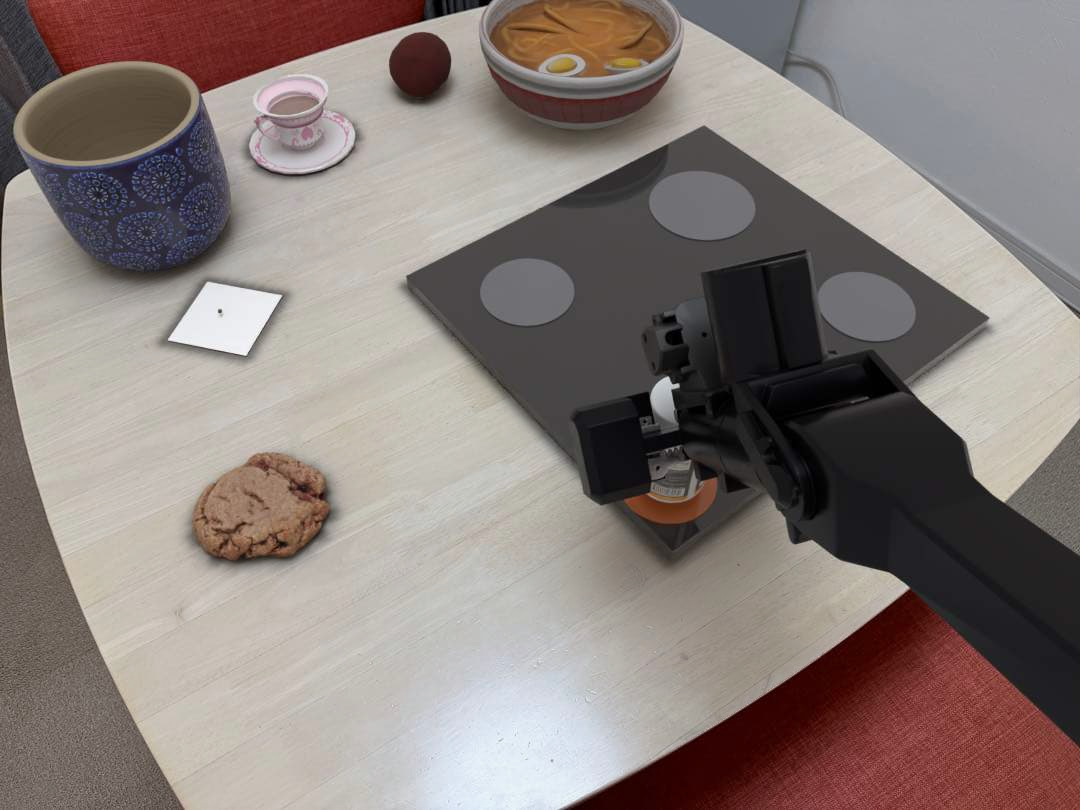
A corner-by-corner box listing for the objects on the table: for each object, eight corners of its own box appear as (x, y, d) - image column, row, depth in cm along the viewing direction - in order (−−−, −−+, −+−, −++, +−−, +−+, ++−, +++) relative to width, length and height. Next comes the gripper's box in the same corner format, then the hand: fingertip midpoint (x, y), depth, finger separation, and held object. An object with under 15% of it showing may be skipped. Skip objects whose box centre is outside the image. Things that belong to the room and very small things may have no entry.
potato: (459, 70, 111) (455, 16, 105) (447, 109, 106) (441, 55, 100) (401, 66, 111) (394, 13, 106) (386, 105, 106) (377, 51, 101)
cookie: (178, 506, 72) (165, 486, 70) (296, 442, 76) (287, 421, 73) (230, 596, 67) (219, 578, 65) (353, 523, 71) (346, 503, 69)
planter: (219, 295, 87) (168, 170, 75) (54, 288, 87) (-23, 163, 76) (262, 186, 97) (223, 61, 85) (113, 181, 98) (54, 56, 86)
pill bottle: (671, 435, 73) (685, 355, 65) (720, 482, 70) (741, 404, 62) (618, 470, 71) (626, 391, 63) (666, 519, 68) (681, 443, 60)
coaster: (246, 355, 82) (243, 350, 81) (167, 340, 83) (164, 334, 82) (282, 295, 86) (280, 289, 86) (207, 281, 88) (205, 275, 87)
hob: (983, 328, 84) (990, 316, 82) (670, 561, 69) (672, 551, 67) (702, 136, 102) (704, 123, 101) (407, 286, 87) (405, 274, 86)
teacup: (314, 100, 107) (302, 52, 102) (377, 142, 102) (369, 94, 97) (229, 144, 102) (213, 96, 97) (291, 190, 96) (278, 142, 92)
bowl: (631, 182, 97) (639, 101, 89) (448, 129, 103) (440, 49, 95) (700, 76, 110) (712, -3, 102) (533, 34, 116) (533, -44, 108)
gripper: (887, 267, 51) (767, 280, 67) (581, 336, 48) (528, 333, 64) (916, 452, 53) (792, 423, 68) (621, 531, 50) (560, 482, 65)
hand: (671, 412), depth 66 cm, fingers closed on pill bottle, 6 cm apart
